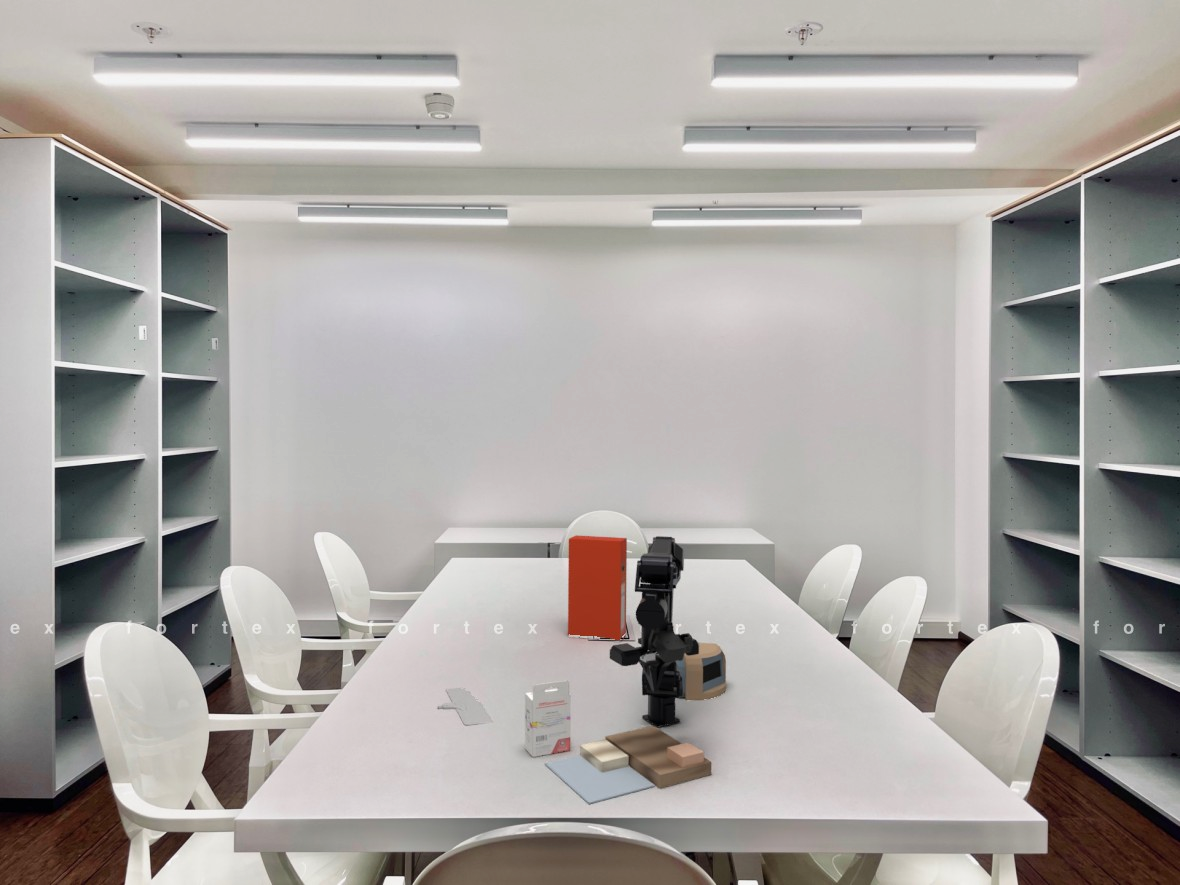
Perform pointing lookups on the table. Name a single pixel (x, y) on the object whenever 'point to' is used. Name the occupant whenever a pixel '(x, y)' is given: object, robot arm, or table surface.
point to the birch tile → (604, 755)
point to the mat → (597, 779)
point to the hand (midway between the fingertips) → (654, 690)
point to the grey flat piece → (466, 707)
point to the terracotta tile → (685, 755)
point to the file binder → (597, 586)
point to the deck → (656, 757)
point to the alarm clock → (703, 673)
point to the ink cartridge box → (547, 719)
